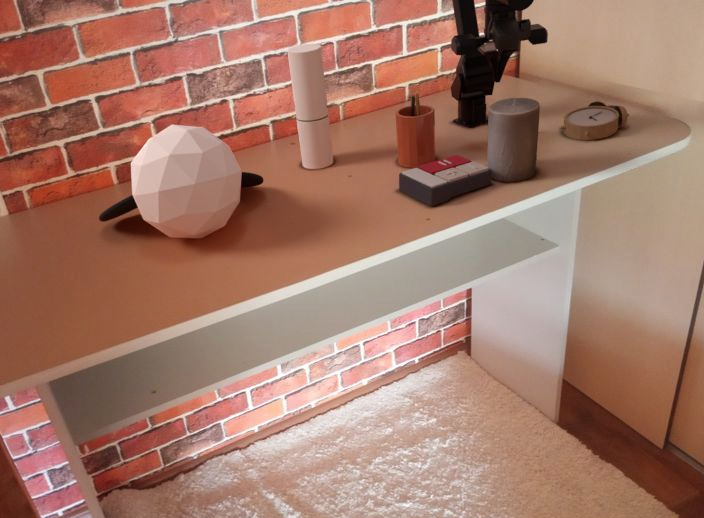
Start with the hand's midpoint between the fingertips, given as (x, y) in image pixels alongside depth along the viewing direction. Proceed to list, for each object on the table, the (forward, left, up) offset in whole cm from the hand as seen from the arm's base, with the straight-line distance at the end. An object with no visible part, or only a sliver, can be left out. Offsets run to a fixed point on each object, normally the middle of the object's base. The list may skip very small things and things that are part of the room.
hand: (497, 82), depth 151 cm
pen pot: (-4, -19, -13) cm, 23 cm away
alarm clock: (+11, +19, -13) cm, 26 cm away
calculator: (+12, -24, -13) cm, 30 cm away
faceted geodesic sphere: (-10, -70, -13) cm, 72 cm away
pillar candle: (+16, -10, -13) cm, 23 cm away
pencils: (-4, -19, -12) cm, 23 cm away
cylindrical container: (-20, -35, -13) cm, 42 cm away
